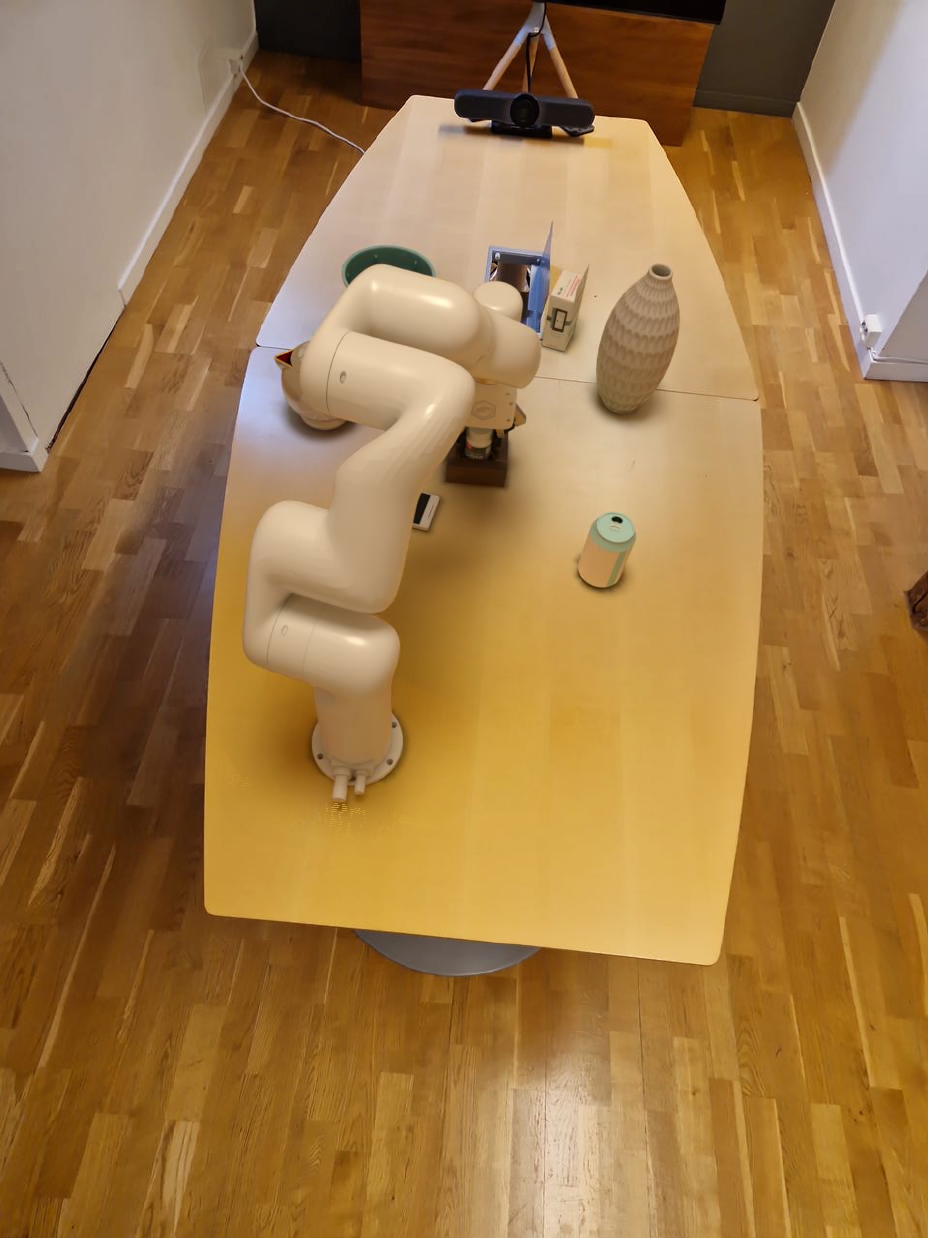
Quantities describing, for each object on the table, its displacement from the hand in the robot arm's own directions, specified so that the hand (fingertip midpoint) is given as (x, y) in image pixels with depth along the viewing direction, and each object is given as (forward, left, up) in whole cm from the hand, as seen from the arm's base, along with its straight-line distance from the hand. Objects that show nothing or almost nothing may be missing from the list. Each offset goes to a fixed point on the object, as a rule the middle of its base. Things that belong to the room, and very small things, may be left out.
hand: (478, 445), depth 139 cm
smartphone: (-11, +14, -4) cm, 18 cm away
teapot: (+8, +26, -4) cm, 28 cm away
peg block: (0, 0, -4) cm, 4 cm away
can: (-21, -21, -4) cm, 30 cm away
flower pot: (+27, +18, -4) cm, 33 cm away
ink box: (+35, -15, -4) cm, 38 cm away
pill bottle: (0, 0, -4) cm, 4 cm away
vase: (+18, -26, -4) cm, 32 cm away
